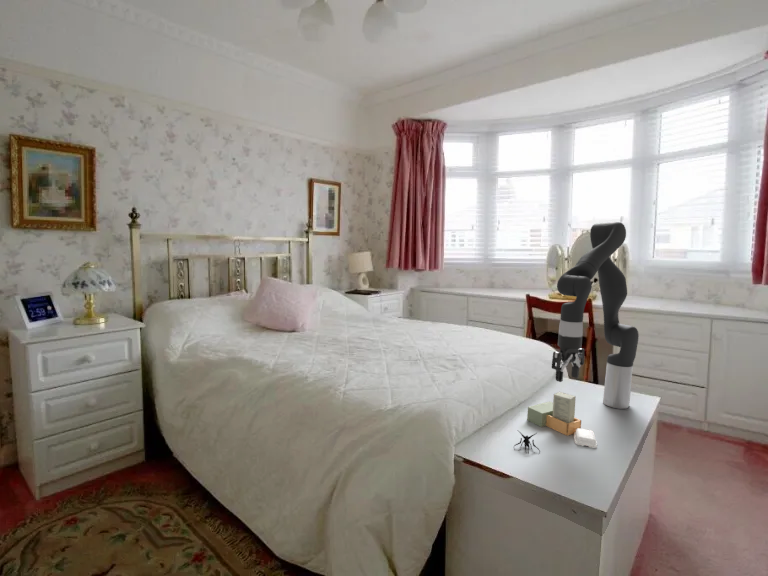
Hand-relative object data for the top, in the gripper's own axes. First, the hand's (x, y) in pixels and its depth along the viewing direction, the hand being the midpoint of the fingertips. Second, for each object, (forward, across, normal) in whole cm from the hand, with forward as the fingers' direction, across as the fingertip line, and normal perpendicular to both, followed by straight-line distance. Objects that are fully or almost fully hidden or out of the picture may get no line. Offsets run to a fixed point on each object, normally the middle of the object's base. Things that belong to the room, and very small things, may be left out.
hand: (566, 379), depth 147 cm
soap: (+18, +1, +9) cm, 21 cm away
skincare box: (+18, 0, 0) cm, 18 cm away
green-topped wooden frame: (+18, 0, -3) cm, 18 cm away
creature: (+18, +24, +4) cm, 30 cm away
